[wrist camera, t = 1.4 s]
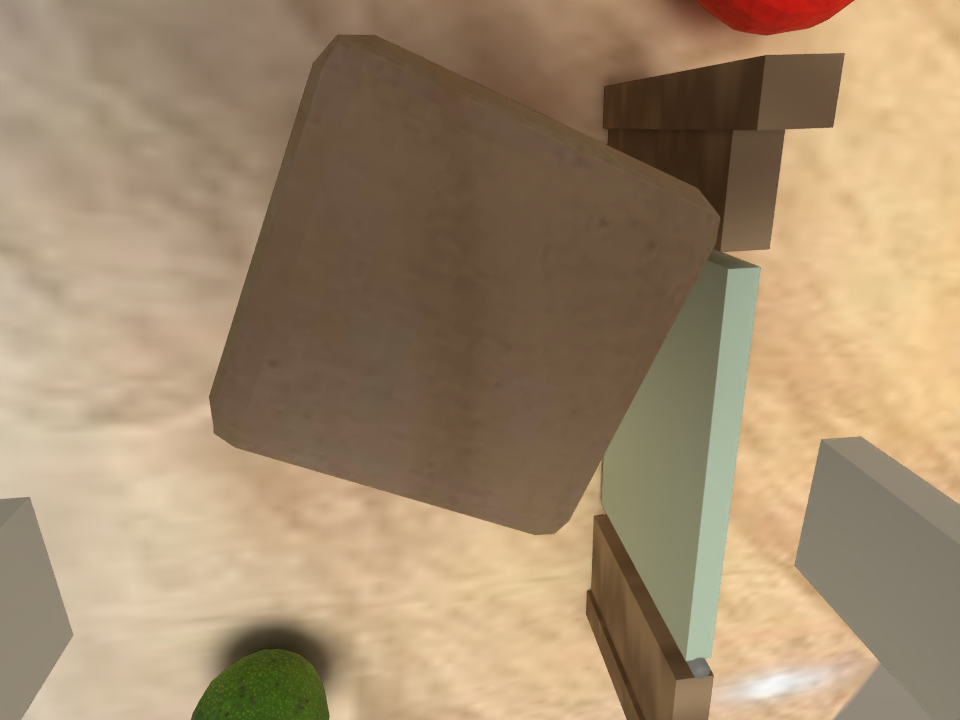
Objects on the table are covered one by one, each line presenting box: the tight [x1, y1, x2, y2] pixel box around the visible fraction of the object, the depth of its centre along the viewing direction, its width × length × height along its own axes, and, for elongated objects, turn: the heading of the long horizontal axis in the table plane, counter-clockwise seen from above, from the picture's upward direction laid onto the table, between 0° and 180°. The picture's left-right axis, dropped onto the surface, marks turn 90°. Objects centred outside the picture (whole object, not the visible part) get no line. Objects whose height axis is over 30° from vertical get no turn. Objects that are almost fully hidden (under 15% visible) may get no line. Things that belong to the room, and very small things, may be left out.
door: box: [602, 249, 761, 679], centre depth 31 cm, size 19×1×13 cm, turn 2°
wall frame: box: [586, 53, 845, 720], centre depth 31 cm, size 34×2×15 cm, turn 2°
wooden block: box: [209, 35, 720, 535], centre depth 24 cm, size 10×10×20 cm
